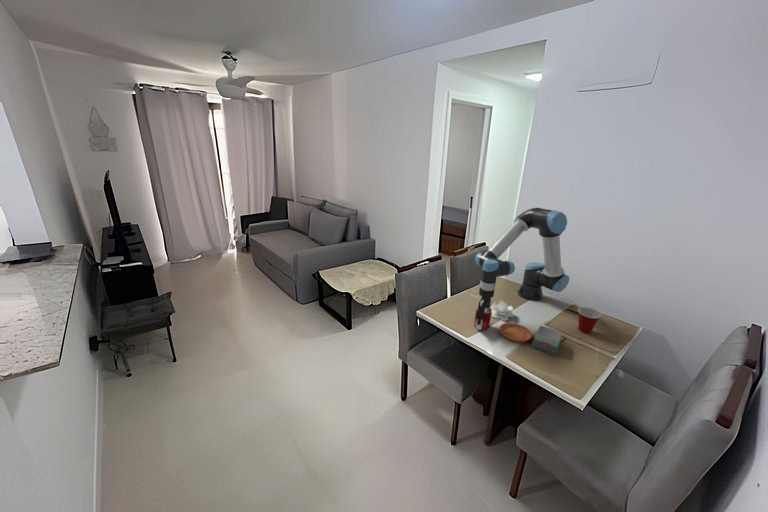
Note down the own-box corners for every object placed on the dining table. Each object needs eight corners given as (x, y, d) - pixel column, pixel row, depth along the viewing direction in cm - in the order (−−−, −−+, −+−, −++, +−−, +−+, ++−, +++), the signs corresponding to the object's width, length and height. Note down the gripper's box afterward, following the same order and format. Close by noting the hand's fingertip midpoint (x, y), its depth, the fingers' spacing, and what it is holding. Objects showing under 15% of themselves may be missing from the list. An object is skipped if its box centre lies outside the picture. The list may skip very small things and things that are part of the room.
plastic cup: (570, 330, 166) (575, 311, 162) (575, 323, 174) (580, 304, 170) (594, 338, 159) (599, 318, 156) (597, 330, 167) (603, 311, 163)
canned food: (489, 331, 163) (492, 313, 160) (474, 329, 165) (477, 311, 161) (488, 323, 170) (490, 306, 167) (473, 322, 172) (475, 304, 168)
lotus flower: (490, 320, 174) (493, 306, 172) (486, 308, 189) (488, 295, 186) (516, 322, 173) (519, 309, 170) (509, 310, 187) (512, 297, 184)
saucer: (537, 343, 154) (539, 338, 153) (509, 345, 152) (510, 340, 151) (519, 326, 169) (520, 321, 168) (493, 328, 167) (494, 323, 166)
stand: (537, 335, 161) (539, 324, 158) (560, 343, 154) (563, 331, 152) (531, 346, 151) (534, 334, 148) (556, 355, 144) (559, 343, 142)
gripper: (486, 280, 170) (481, 316, 177) (473, 292, 155) (467, 331, 162) (500, 284, 166) (494, 321, 173) (487, 296, 150) (481, 336, 158)
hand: (481, 325), depth 167 cm, fingers closed on canned food, 8 cm apart
